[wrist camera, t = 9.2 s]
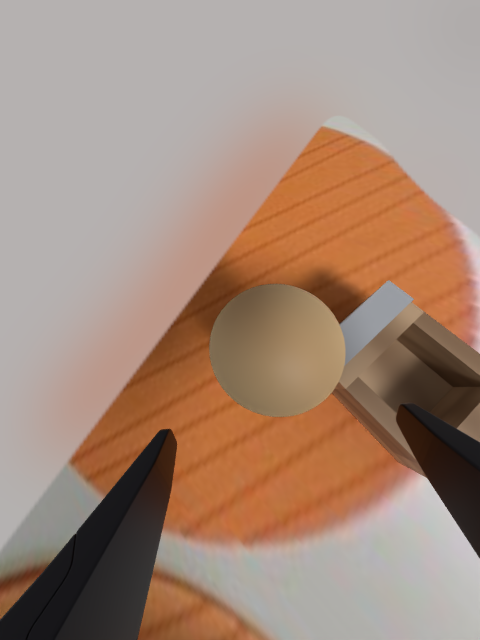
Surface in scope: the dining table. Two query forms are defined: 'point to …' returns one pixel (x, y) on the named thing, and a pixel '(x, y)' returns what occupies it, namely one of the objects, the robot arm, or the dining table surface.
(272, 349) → the dowel
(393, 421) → the socket block
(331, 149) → the dining table surface
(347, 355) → the wall
